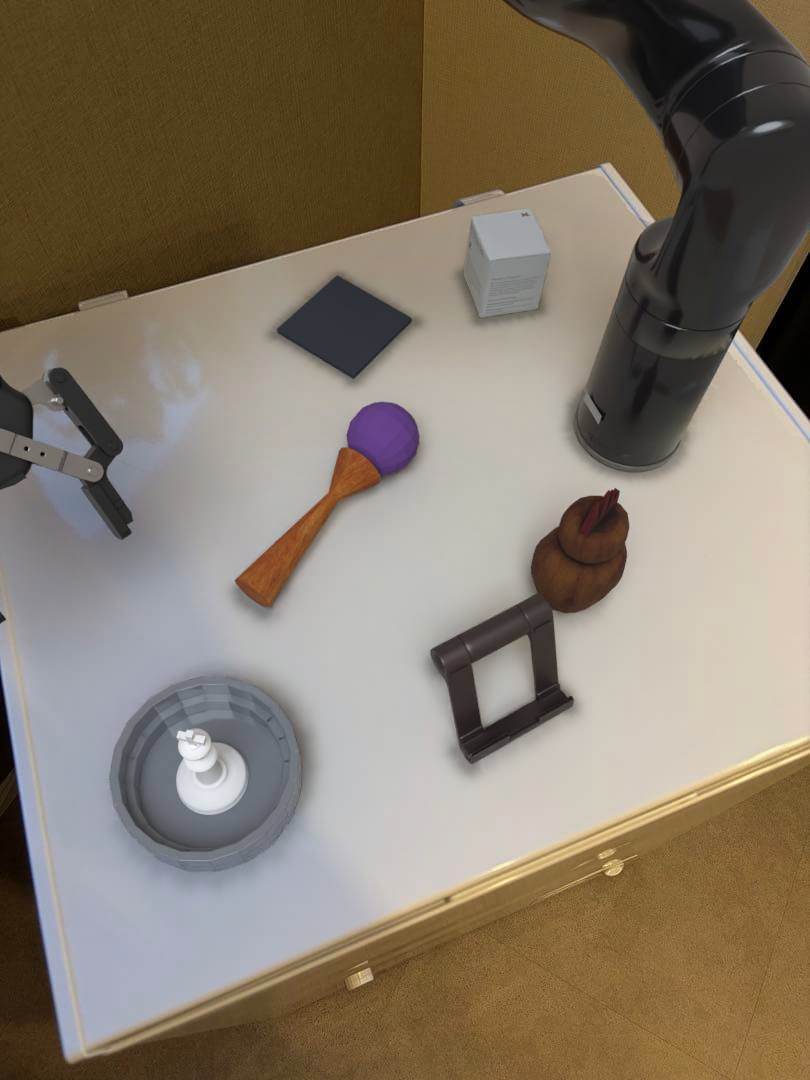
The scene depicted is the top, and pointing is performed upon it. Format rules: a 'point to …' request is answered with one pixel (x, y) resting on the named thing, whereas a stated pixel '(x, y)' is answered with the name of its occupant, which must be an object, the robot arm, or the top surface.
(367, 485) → the kendama
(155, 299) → the top surface
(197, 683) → the basin
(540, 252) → the product box
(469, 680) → the tablet stand
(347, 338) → the mat
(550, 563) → the brown gourd
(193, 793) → the chess piece
